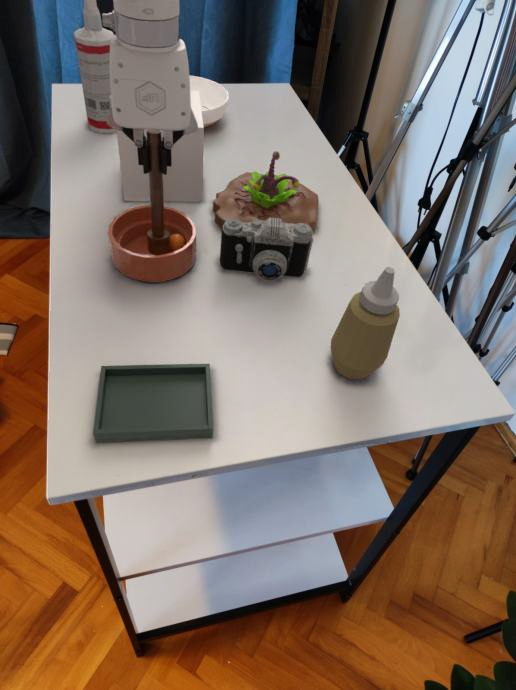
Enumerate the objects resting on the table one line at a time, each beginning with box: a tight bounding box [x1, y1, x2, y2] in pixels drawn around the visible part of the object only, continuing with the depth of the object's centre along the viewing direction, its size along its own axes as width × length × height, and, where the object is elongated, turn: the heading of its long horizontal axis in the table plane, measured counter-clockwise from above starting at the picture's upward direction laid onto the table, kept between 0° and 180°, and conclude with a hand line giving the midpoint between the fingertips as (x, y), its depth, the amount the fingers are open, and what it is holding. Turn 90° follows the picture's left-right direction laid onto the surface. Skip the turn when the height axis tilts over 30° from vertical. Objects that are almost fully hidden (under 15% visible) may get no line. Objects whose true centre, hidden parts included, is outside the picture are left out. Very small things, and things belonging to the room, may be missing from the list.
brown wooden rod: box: [147, 129, 170, 255], centre depth 75 cm, size 4×4×19 cm
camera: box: [219, 217, 314, 282], centre depth 79 cm, size 15×7×10 cm, turn 88°
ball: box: [170, 234, 185, 251], centre depth 83 cm, size 3×3×3 cm
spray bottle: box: [73, 0, 117, 134], centre depth 101 cm, size 8×8×25 cm
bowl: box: [190, 75, 230, 128], centre depth 114 cm, size 20×20×6 cm
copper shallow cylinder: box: [107, 204, 197, 283], centre depth 81 cm, size 14×14×6 cm
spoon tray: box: [92, 363, 214, 443], centre depth 63 cm, size 14×10×2 cm
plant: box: [212, 150, 319, 232], centre depth 91 cm, size 20×20×11 cm
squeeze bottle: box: [330, 266, 401, 381], centre depth 65 cm, size 8×8×18 cm
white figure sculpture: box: [110, 91, 205, 203], centre depth 88 cm, size 15×18×25 cm
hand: (155, 168), depth 73 cm, fingers closed on brown wooden rod, 2 cm apart
